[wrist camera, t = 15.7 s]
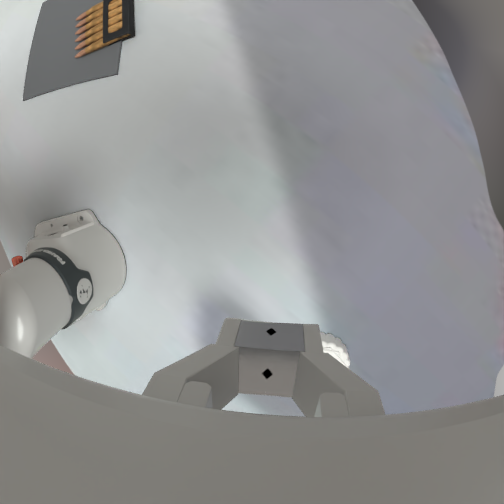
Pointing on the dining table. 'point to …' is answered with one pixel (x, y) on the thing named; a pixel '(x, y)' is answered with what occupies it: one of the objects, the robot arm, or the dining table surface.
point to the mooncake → (335, 348)
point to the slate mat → (65, 50)
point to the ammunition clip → (105, 25)
